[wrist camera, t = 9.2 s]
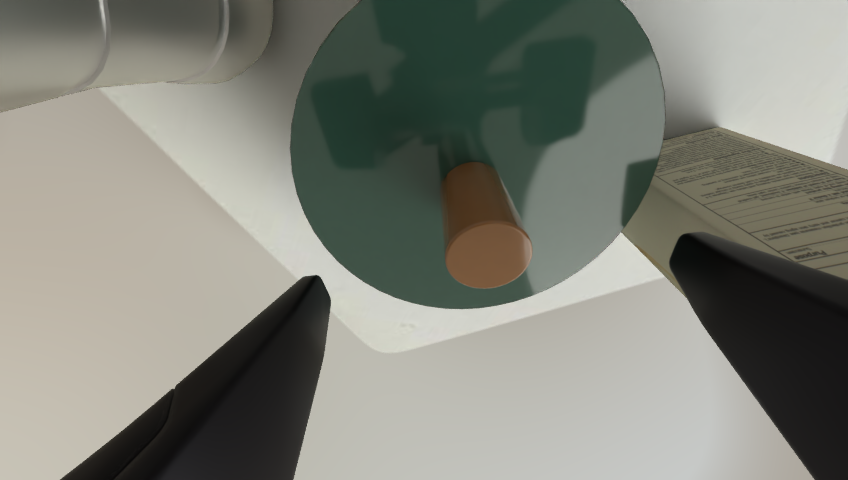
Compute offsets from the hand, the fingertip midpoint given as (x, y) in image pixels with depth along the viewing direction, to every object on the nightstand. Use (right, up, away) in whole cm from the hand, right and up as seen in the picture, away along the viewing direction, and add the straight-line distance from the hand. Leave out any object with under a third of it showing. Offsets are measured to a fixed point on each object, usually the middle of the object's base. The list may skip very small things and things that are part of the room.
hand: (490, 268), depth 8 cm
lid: (0, +3, +4) cm, 5 cm away
